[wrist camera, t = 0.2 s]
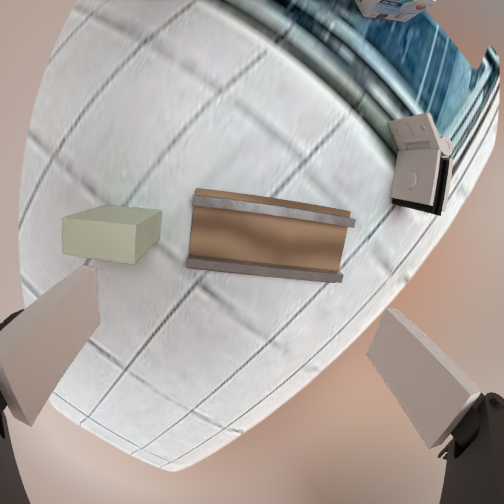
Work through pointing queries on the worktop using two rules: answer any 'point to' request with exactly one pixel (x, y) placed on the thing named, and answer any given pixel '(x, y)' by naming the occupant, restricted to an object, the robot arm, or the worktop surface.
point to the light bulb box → (393, 8)
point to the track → (267, 236)
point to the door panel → (111, 233)
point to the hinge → (421, 165)
